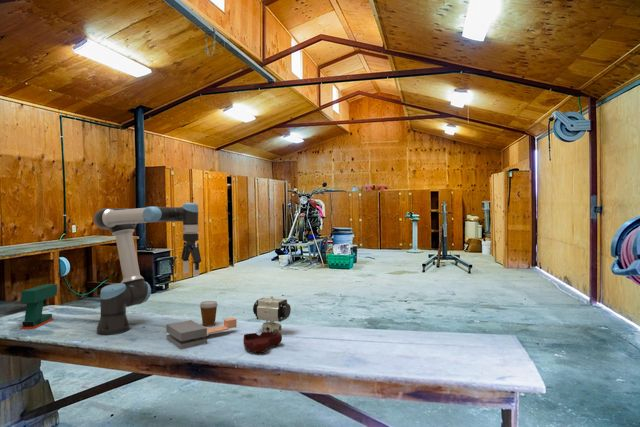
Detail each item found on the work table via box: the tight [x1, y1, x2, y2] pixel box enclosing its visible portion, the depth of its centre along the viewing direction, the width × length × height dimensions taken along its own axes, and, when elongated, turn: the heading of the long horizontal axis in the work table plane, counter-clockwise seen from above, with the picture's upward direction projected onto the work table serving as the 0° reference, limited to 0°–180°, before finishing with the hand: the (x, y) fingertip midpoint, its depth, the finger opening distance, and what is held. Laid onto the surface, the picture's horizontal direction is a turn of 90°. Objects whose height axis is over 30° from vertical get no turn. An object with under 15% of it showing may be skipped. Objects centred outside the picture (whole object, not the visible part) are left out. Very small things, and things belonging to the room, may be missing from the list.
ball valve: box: [252, 295, 292, 333], centre depth 200 cm, size 18×8×18 cm, turn 67°
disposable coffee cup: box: [199, 300, 219, 327], centre depth 214 cm, size 10×10×12 cm
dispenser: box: [165, 319, 210, 350], centre depth 187 cm, size 13×19×7 cm
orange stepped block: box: [206, 317, 237, 335], centre depth 197 cm, size 18×7×4 cm, turn 130°
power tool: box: [20, 283, 60, 330], centre depth 225 cm, size 32×7×20 cm, turn 6°
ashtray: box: [243, 331, 283, 355], centre depth 177 cm, size 18×16×5 cm
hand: (191, 274), depth 202 cm, fingers open, 13 cm apart
